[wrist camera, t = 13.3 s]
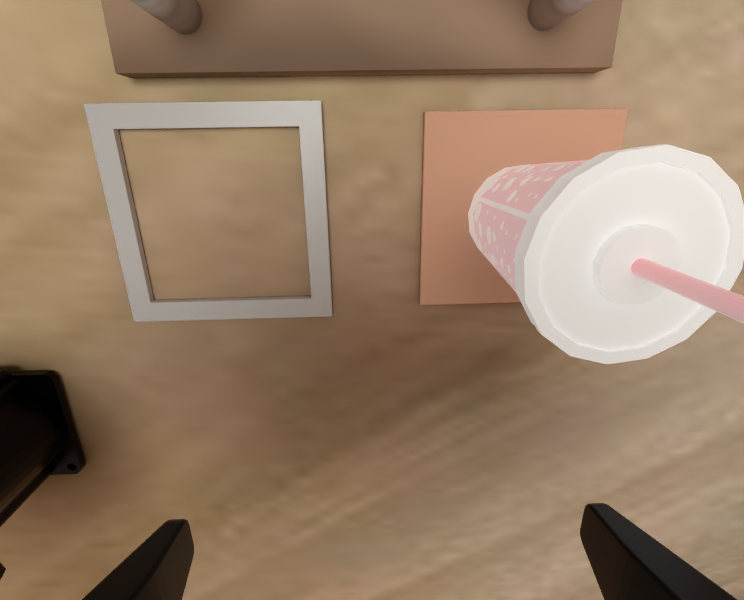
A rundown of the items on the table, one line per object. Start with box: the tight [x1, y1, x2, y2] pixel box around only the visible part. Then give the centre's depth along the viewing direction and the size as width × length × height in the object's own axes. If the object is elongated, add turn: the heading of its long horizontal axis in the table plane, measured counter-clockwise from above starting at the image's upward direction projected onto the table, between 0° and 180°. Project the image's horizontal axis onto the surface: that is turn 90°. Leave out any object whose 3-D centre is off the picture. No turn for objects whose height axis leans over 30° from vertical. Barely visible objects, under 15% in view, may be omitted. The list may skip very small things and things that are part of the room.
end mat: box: [419, 109, 628, 305], centre depth 20 cm, size 9×9×1 cm
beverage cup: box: [468, 144, 744, 364], centre depth 13 cm, size 6×6×14 cm
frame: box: [84, 100, 333, 322], centre depth 19 cm, size 10×10×1 cm
